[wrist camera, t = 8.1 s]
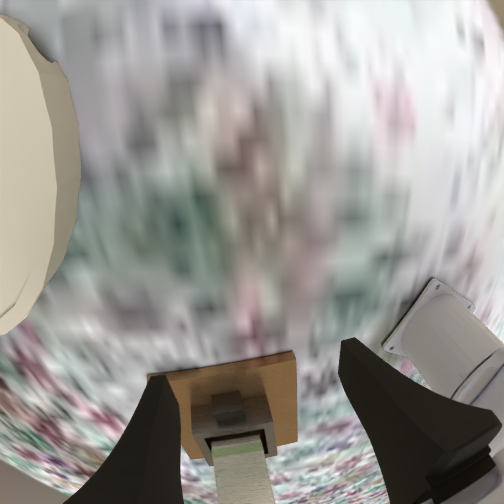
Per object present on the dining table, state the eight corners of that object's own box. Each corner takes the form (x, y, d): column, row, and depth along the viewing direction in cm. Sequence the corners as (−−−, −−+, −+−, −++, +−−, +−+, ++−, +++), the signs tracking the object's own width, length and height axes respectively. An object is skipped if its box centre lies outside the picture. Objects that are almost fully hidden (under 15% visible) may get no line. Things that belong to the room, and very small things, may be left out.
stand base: (147, 374, 23) (144, 412, 20) (292, 350, 24) (306, 386, 21) (190, 452, 29) (192, 481, 26) (295, 434, 31) (304, 463, 27)
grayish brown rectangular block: (210, 441, 22) (221, 529, 15) (259, 433, 22) (280, 520, 15) (219, 461, 24) (231, 538, 17) (263, 454, 24) (282, 530, 17)
